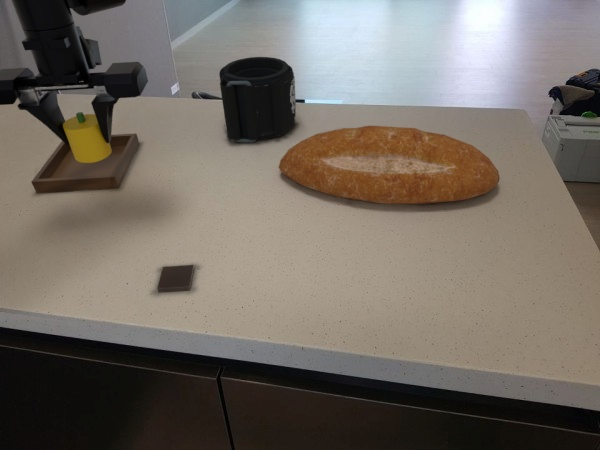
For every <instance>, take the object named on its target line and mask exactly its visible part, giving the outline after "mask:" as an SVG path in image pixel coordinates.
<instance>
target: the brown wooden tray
mask: <svg viewBox="0 0 600 450" xmlns="http://www.w3.org/2000/svg"><path fill="white" fill-rule="evenodd" d="M110 146H111V149H112V152H111V154H110V155H109V156H108V157H106V158H105V159H103V160H101V161H98V162H94V163H82V162H78V161H77V160H76V159H75V157H74V155H73V152H72V149H71V147H70V145H66V144H65V143H64V142H63V141H62V140H61V142H60V143H59V144H58V146H57V147H56V148H55V149H54V151H53V152H52V154H51V155H50V156H49V158H47V160H46V161H45V163H44V164H43V165H42V167H41V168H40V169H39V171H38V172H37V173H36V175H35V176H34V177H33V179H32V180H31V182H30V183H31V184H32V186H33V189H34V190H35V193H36V194H48V193H49V194H51V193H64V192H65V193H66V192H81V191H98V190H100V191H101V190H113V189H120V187H121V185H122V182H123V180H124V178H125V177H126V174H127V172H128V169H129V167H130V166H131V163H132V161H133V159H134V157H135V155H136V153H137V150H138V148H139V146H140V141H139V138H138V134H137V133H119V134H111V141H110Z"/></svg>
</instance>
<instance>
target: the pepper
mask: <svg viewBox="0 0 600 450" xmlns="http://www.w3.org/2000/svg"><path fill="white" fill-rule="evenodd" d="M63 128H64V131H65V134H66V136H67V139H68V141H69V144H70V147H71V149H72V152H73V155H74V157H75V159H76V160H77V161H78V162H82V163H94V162H98V161H101V160H103V159H105V158H106V157H108V156H109V155H110V154H111V152H112V149H111V146H110V143H106V141H105V140H104V138H103V136H102V133H101V130H100V127H99V124H98V121H97V118H96V115H95V113H94V114H92V113H86V114H84V112H81V111H79V112H77V113H76V112H75V116H72V117H70V118H68V119H67V120H65V122H64V123H63Z"/></svg>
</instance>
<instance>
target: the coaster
mask: <svg viewBox="0 0 600 450" xmlns="http://www.w3.org/2000/svg"><path fill="white" fill-rule="evenodd" d="M194 270H195V266H194V264H187V265H171V266H170V265H169V266H163V267H162V269H161V273H160V277H159V281H158V284H157V288H156V290H157V292H158V293H162V292H165V293H166V292H178V291H179V292H181V291H190V290H191V287H192V281H193V276H194Z"/></svg>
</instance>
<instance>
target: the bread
mask: <svg viewBox="0 0 600 450" xmlns="http://www.w3.org/2000/svg"><path fill="white" fill-rule="evenodd" d="M278 169H279V171H280V172H281V173H282V174H283V175H284V176H285V177H286V178H287V179H289V180H292V182H295V183H298V184H299V185H301V186H304V187H306V188H310V189H311V190H312V189H313V190H315V191H318V192H320V193H324V194H328V195H331V196H335V197H339V198H342V199H347V200H353V201H361V202H362V201H363V202H369V203H375V204H390V205H392V204H393V205H425V204H426V205H427V204H438V203H447V202H455V201H463V200H469V199H472V198H475V197H476V198H477V197H479V196H482V195H485V194H487V193H488V192H490V191H492V190H494V189H495V188H496V187H497V186H498V184H499V183H500V179H501V178H500V172H499V170H498V168H497V167H496V166H495V164H494V162H492V160H491V159H490V158H489V157H488V156H487V155H486V154H485V153H483V152H482V151H481V150H480V149H478V148H477V147H475V146H474V145H472V144H470V143H467V142H465V141H462V140H459V139H457V138H454V137H451V136H449V135H446V134H442V133H436V132H431V131H430V132H429V131H424V130H420V129H418V128H415V127H403V126H387V125H385V126H384V125H365V126H360V127H343V128H338V129H333V130H329V131H325V132H320V133H316V134H314V135H311V136H309V137H307V138H305V139H303V140H301V141H299V142H298V143H296V144H294V145H293V146H292V147H290V148H289V149H288V150H287V152H286V153H285V154H284V155H283V157H282V158H280V161H279V164H278Z"/></svg>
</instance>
